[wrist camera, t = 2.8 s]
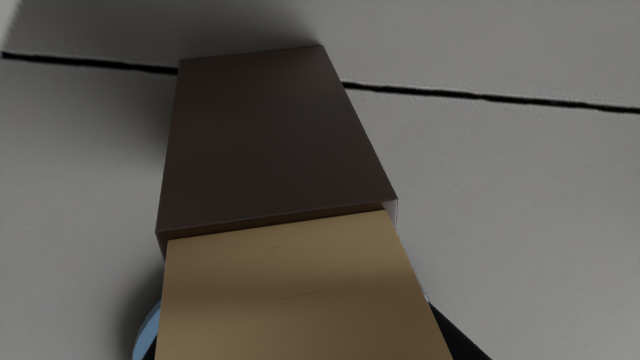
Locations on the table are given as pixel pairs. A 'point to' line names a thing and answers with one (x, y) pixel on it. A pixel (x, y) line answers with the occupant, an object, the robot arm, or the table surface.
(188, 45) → the table surface
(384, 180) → the stand
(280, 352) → the block
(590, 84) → the table surface
